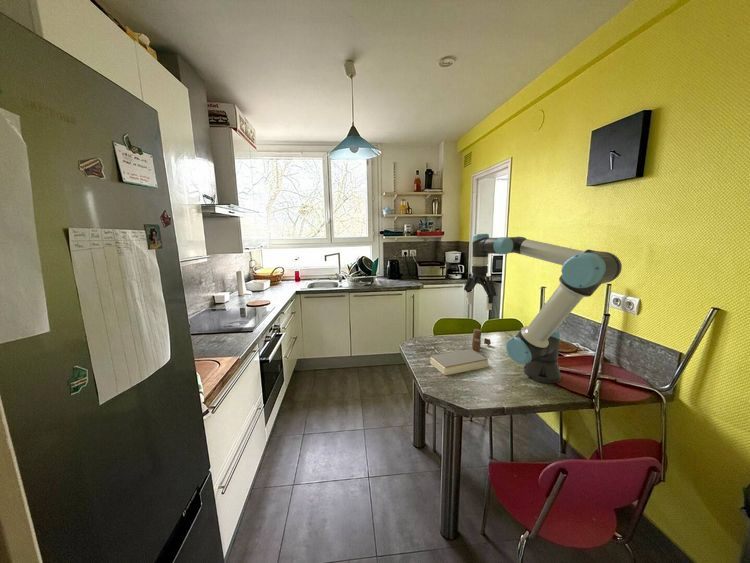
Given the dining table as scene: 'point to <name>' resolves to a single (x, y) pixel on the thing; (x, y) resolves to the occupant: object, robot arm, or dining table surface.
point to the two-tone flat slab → (458, 361)
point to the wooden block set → (478, 340)
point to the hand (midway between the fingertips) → (478, 307)
